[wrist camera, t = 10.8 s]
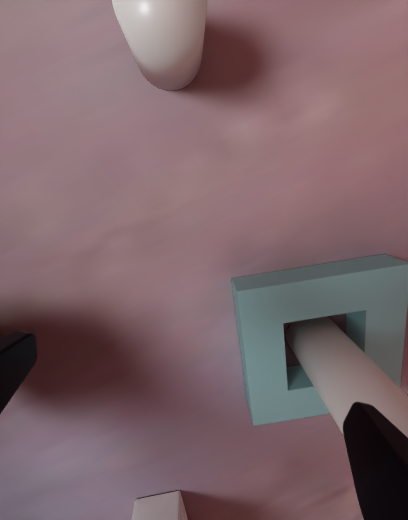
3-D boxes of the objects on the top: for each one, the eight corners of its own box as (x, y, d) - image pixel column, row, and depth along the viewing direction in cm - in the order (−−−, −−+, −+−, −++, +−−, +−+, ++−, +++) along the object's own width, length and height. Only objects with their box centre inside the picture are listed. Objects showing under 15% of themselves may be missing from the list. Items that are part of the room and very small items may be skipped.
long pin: (277, 343, 22) (414, 596, 9) (303, 304, 21) (503, 520, 8) (316, 360, 23) (498, 619, 9) (343, 323, 22) (589, 552, 8)
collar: (246, 401, 24) (253, 426, 21) (231, 278, 20) (236, 291, 18) (377, 380, 24) (398, 402, 21) (385, 253, 20) (411, 263, 18)
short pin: (143, 95, 16) (123, 59, 11) (128, 17, 15) (99, -60, 10) (206, 85, 16) (213, 45, 11) (196, 6, 15) (199, -75, 10)
